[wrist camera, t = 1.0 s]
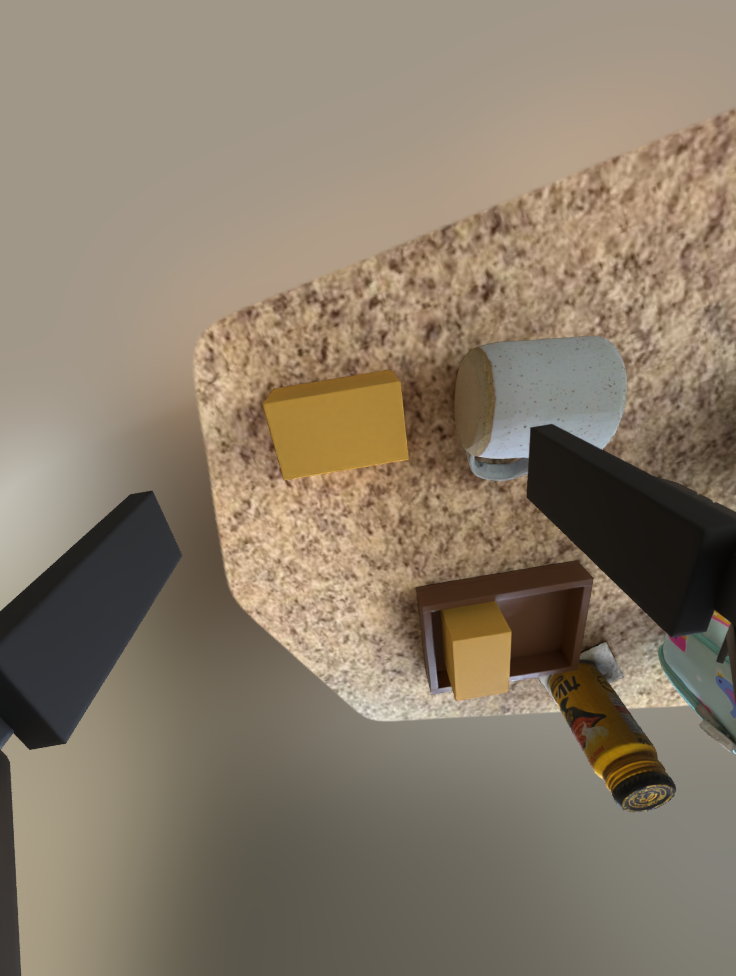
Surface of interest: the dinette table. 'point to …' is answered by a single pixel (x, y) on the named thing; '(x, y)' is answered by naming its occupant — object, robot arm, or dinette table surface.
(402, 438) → the pad loose
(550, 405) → the ceramic mug
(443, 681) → the frame
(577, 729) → the condiment
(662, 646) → the lunch box
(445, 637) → the pad seated
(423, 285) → the dinette table surface
